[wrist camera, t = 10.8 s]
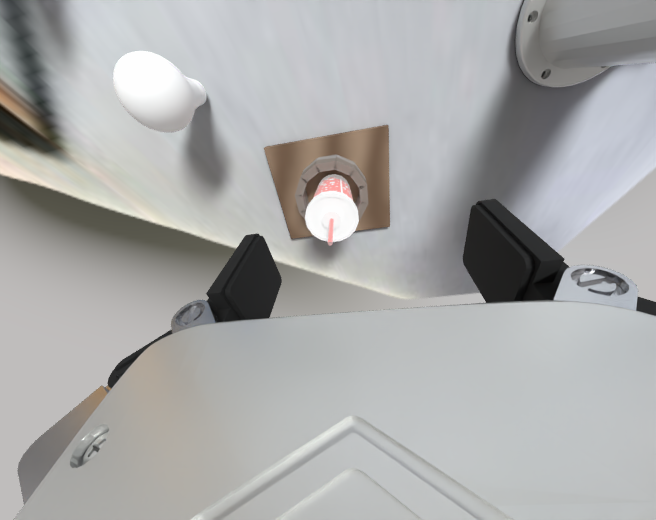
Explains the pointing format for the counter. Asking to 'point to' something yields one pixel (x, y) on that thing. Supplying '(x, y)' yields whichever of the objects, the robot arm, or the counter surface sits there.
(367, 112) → the counter surface
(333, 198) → the beverage cup
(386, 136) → the coaster board
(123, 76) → the lightbulb
